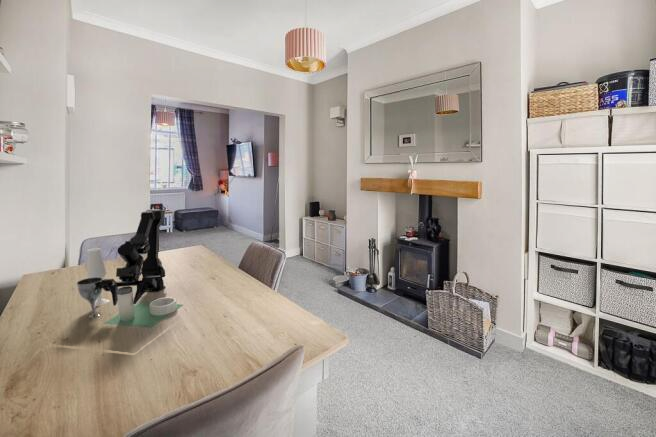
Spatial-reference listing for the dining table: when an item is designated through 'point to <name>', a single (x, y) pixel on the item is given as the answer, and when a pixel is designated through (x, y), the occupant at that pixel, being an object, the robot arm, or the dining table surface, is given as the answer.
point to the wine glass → (90, 291)
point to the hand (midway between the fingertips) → (124, 304)
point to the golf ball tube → (125, 303)
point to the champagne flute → (96, 269)
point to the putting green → (149, 313)
